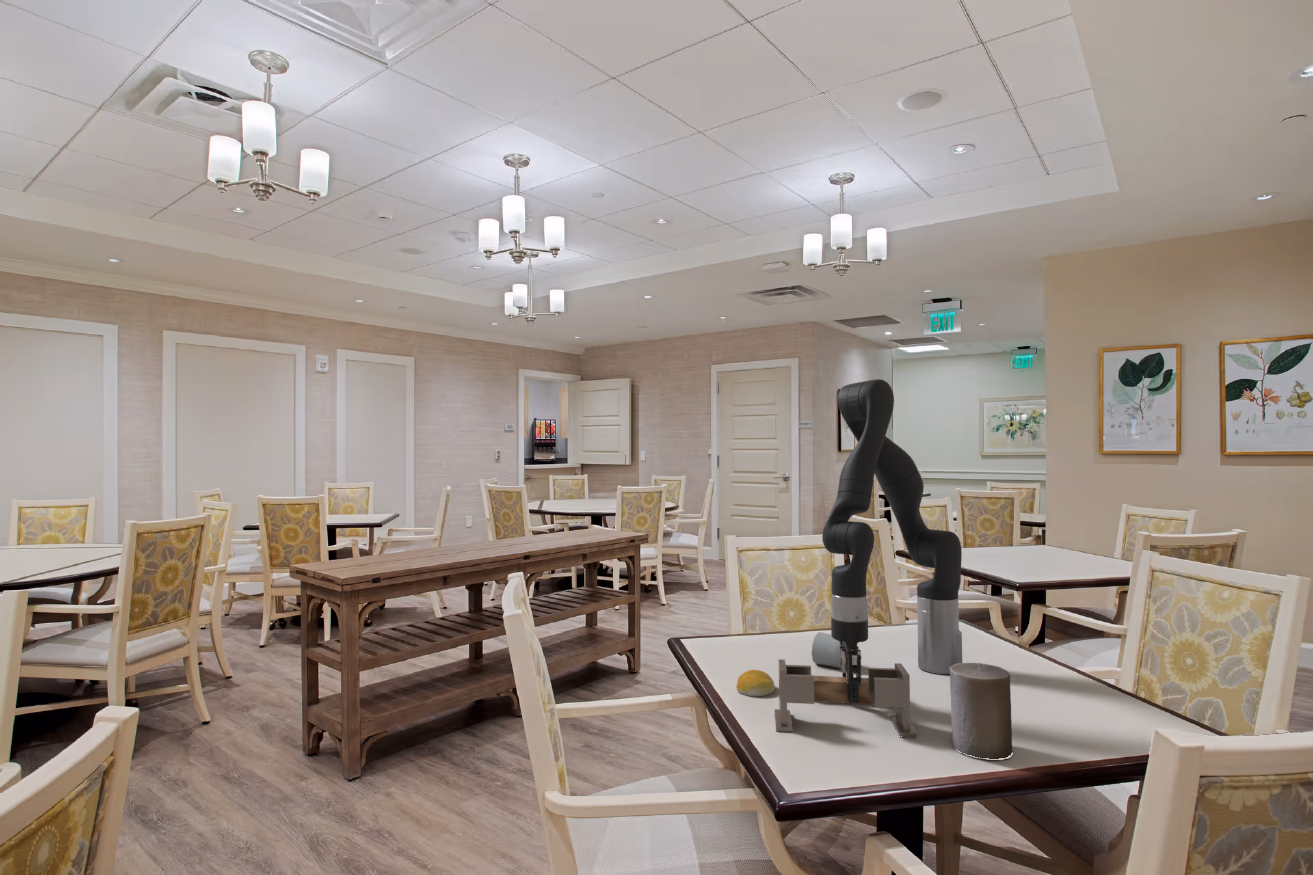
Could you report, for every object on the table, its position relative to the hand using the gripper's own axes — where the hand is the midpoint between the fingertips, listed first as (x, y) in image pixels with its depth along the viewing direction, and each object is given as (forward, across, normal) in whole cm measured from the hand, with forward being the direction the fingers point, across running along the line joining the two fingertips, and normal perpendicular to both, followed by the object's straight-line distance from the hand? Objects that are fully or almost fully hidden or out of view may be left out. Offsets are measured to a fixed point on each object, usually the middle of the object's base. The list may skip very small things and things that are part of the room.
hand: (850, 695), depth 143 cm
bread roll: (+1, +4, +20) cm, 20 cm away
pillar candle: (+1, -22, -19) cm, 29 cm away
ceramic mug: (+1, +25, 0) cm, 25 cm away
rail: (+1, 0, 0) cm, 1 cm away
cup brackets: (+1, -14, +4) cm, 14 cm away
